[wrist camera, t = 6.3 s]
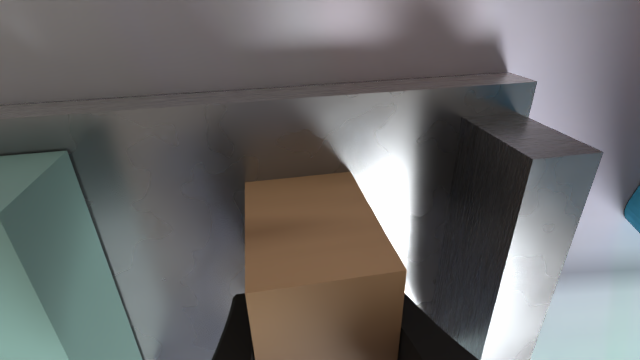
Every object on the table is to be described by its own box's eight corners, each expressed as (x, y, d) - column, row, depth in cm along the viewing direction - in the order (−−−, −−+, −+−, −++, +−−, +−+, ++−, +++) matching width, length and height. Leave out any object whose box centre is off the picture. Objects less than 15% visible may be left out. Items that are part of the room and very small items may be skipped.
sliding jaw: (149, 379, 15) (126, 475, 12) (41, 397, 15) (-11, 503, 12) (67, 150, 11) (-4, 214, 8) (-96, 164, 10) (-242, 239, 7)
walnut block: (348, 303, 15) (389, 429, 11) (262, 316, 15) (269, 454, 10) (350, 171, 13) (407, 270, 8) (245, 182, 12) (244, 293, 8)
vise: (459, 312, 19) (523, 408, 15) (29, 382, 16) (-51, 529, 12) (508, 72, 14) (634, 112, 9) (-132, 113, 11) (-392, 202, 6)
